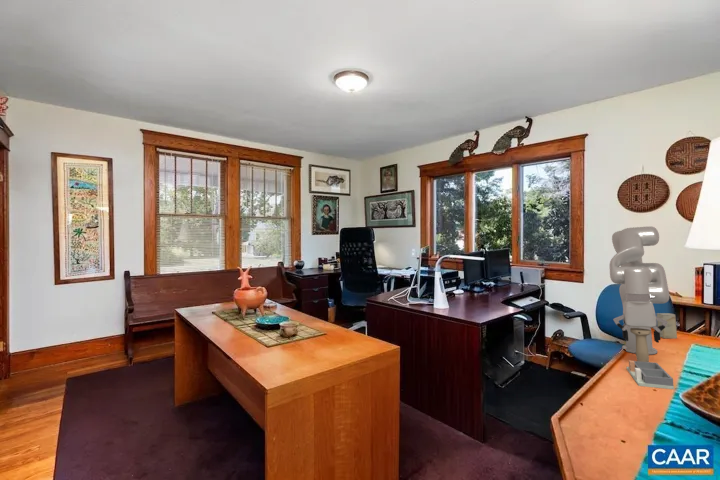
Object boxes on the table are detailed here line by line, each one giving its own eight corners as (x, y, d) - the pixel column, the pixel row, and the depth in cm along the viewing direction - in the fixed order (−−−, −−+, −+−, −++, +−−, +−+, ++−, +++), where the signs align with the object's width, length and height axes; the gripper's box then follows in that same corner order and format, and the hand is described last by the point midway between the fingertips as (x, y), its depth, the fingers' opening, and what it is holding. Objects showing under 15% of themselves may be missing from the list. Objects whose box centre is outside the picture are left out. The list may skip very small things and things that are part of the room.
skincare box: (663, 338, 175) (661, 314, 176) (657, 336, 180) (655, 313, 180) (677, 338, 174) (675, 314, 175) (671, 336, 179) (669, 312, 179)
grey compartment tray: (626, 369, 137) (625, 357, 138) (657, 371, 133) (656, 360, 133) (638, 385, 121) (637, 372, 122) (674, 389, 117) (672, 376, 117)
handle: (634, 363, 143) (631, 327, 143) (654, 367, 138) (651, 329, 138) (632, 366, 139) (629, 329, 140) (652, 370, 135) (649, 331, 135)
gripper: (662, 297, 139) (666, 340, 138) (610, 296, 147) (613, 337, 146) (668, 299, 132) (672, 344, 131) (613, 298, 140) (616, 341, 139)
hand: (641, 341), depth 138 cm, fingers open, 9 cm apart
